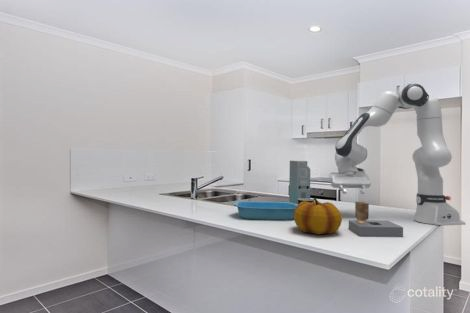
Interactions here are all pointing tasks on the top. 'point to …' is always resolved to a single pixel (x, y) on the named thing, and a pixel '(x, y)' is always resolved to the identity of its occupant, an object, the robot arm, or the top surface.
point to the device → (299, 181)
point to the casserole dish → (266, 210)
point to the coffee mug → (305, 200)
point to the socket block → (375, 228)
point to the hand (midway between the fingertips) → (353, 193)
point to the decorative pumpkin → (317, 217)
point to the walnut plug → (361, 210)
